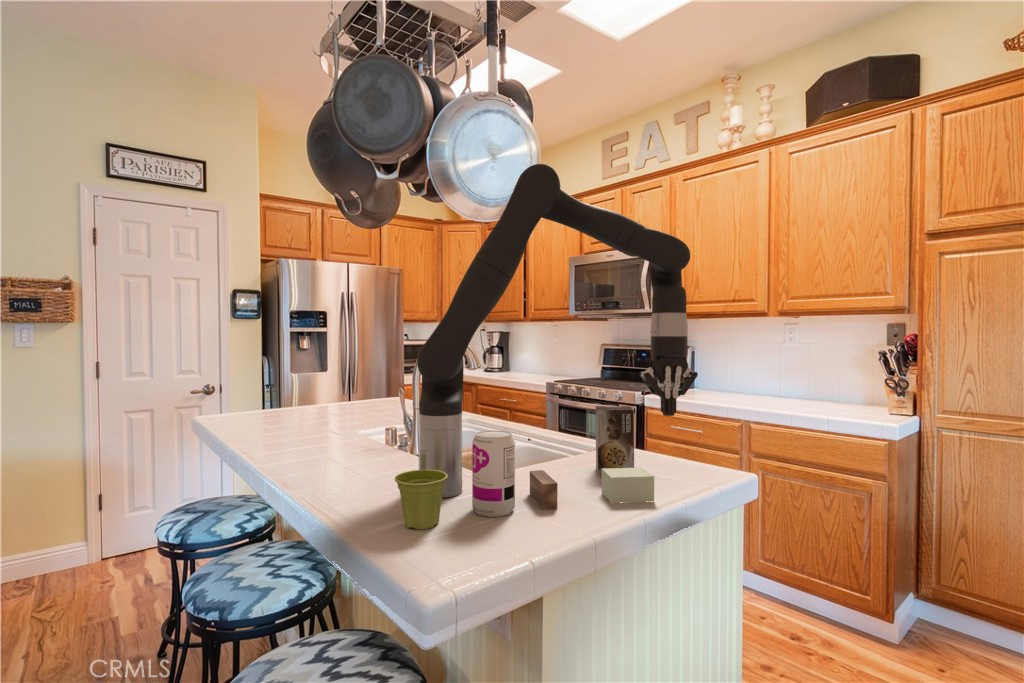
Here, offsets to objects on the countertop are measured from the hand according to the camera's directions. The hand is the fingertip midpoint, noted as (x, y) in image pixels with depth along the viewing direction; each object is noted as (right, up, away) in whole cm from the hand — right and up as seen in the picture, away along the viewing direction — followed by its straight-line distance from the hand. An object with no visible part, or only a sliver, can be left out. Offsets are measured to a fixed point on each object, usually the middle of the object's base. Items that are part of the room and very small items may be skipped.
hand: (668, 415), depth 110 cm
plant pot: (-50, -17, -17) cm, 56 cm away
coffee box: (-8, -17, +19) cm, 27 cm away
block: (-9, -17, -2) cm, 20 cm away
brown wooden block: (-27, -17, -4) cm, 32 cm away
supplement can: (-37, -17, -10) cm, 42 cm away
